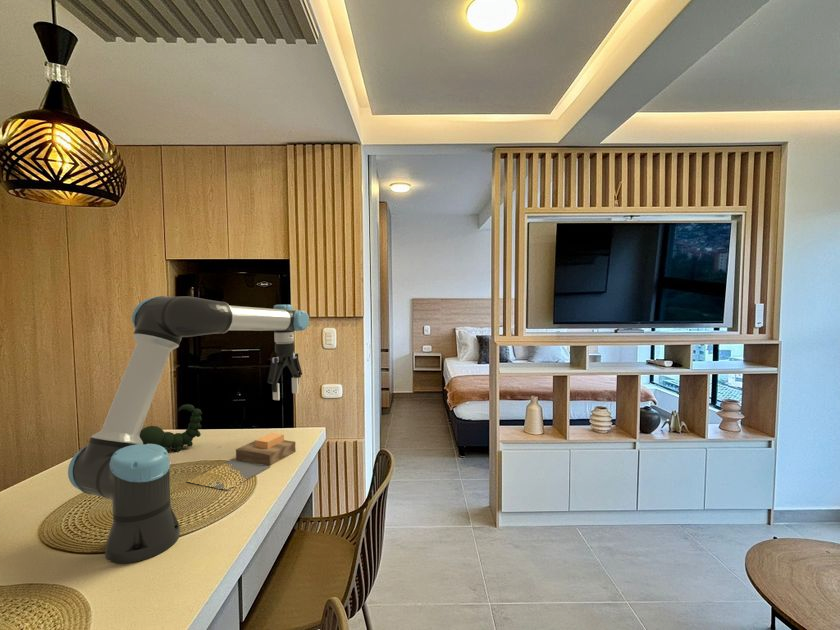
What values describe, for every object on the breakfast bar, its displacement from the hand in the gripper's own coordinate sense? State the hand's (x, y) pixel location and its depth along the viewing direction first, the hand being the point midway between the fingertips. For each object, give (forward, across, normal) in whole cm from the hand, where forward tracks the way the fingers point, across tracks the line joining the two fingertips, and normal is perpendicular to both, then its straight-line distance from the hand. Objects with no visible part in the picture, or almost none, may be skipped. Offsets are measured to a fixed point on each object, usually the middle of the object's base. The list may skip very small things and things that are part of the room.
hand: (286, 396), depth 166 cm
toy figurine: (+20, -22, +41) cm, 51 cm away
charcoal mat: (+20, -30, 0) cm, 36 cm away
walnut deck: (+20, -12, 0) cm, 23 cm away
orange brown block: (+16, -10, 0) cm, 19 cm away
